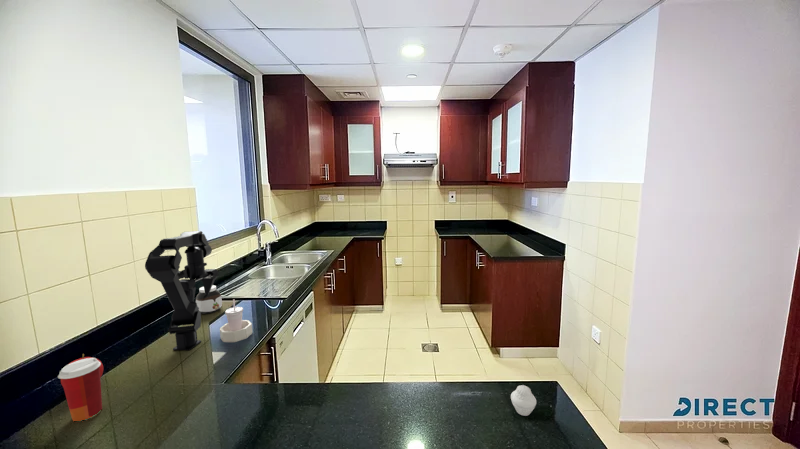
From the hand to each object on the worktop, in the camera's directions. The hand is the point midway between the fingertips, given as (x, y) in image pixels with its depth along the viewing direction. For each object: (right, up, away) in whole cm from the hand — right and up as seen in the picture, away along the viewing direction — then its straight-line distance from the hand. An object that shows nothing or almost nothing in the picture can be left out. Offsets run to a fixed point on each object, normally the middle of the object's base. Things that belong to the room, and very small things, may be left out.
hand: (199, 298), depth 130 cm
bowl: (+18, -14, -5) cm, 23 cm away
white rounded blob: (+115, -18, -48) cm, 126 cm away
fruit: (-12, -18, -35) cm, 42 cm away
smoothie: (+18, -13, -5) cm, 22 cm away
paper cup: (0, -20, -47) cm, 51 cm away
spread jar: (-9, -11, +22) cm, 26 cm away
